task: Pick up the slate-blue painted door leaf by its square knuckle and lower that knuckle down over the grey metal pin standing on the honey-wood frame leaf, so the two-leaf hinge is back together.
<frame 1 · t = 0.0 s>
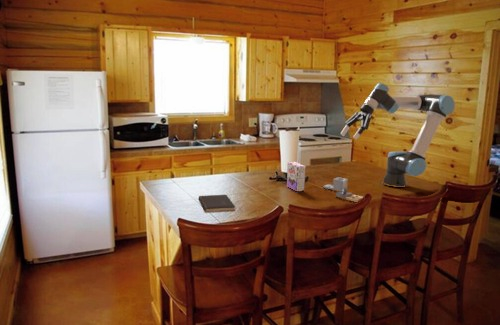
hand: (348, 136, 234), 36 cm above the kitchen island, tool tilted 35°, fingers open, 13 cm apart
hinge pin: (343, 197, 237), on the kitchen island
door leaf: (339, 191, 251), on the kitchen island
candy box: (295, 189, 253), on the kitchen island
hardcover book: (216, 205, 219), on the kitchen island
frame leaf: (354, 198, 232), on the kitchen island
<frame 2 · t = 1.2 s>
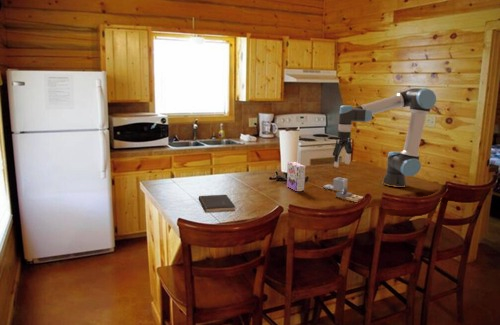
hand: (341, 165, 247), 17 cm above the kitchen island, tool pointing down, fingers open, 13 cm apart
nothing on the kitchen island moved.
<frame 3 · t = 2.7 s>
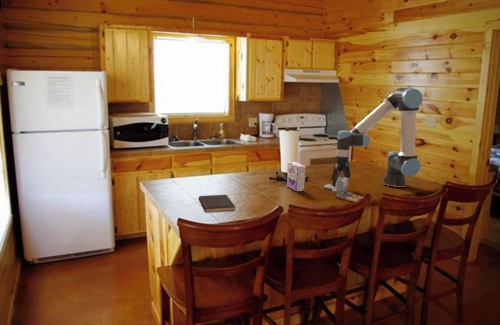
hand: (339, 189, 250), 1 cm above the kitchen island, tool pointing down, fingers open, 13 cm apart
nothing on the kitchen island moved.
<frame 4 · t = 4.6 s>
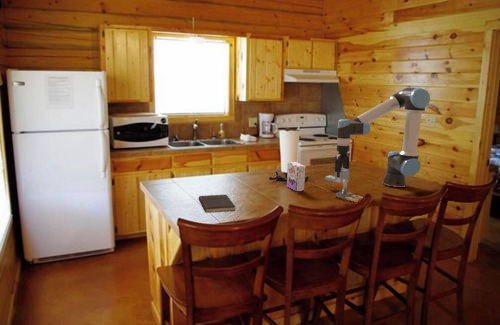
hand: (341, 181, 249), 7 cm above the kitchen island, tool pointing down, fingers closed on door leaf, 6 cm apart
door leaf: (341, 181, 249), point 6 cm above the kitchen island, touching gripper
everything else where it was.
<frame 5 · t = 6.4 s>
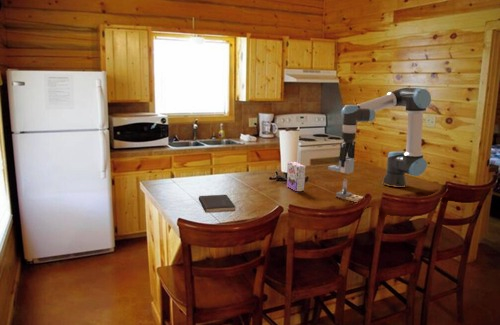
hand: (345, 171, 233), 16 cm above the kitchen island, tool pointing down, fingers closed on door leaf, 6 cm apart
door leaf: (345, 171, 234), point 16 cm above the kitchen island, touching gripper
everything else where it was.
when the fingers open (5 cm above the kitchen island, at t = 8.5 s): door leaf drops 2 cm, resting on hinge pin.
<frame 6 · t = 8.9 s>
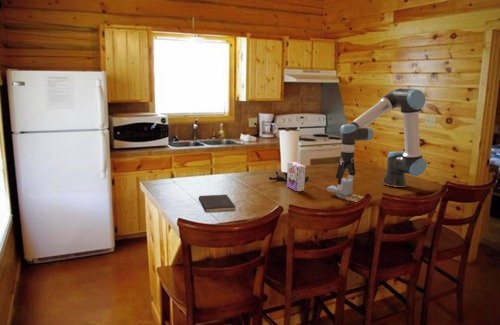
hand: (344, 187, 236), 6 cm above the kitchen island, tool pointing down, fingers open, 11 cm apart
door leaf: (344, 192, 236), point 3 cm above the kitchen island, touching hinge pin
everything else where it was.
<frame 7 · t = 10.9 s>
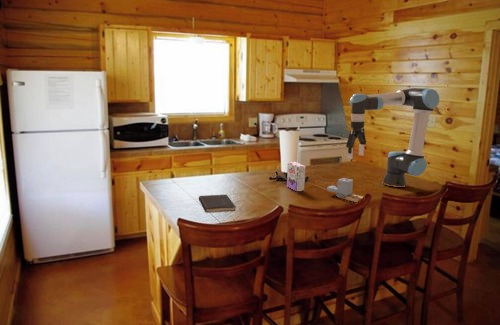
hand: (355, 157, 235), 24 cm above the kitchen island, tool pointing down, fingers open, 13 cm apart
nothing on the kitchen island moved.
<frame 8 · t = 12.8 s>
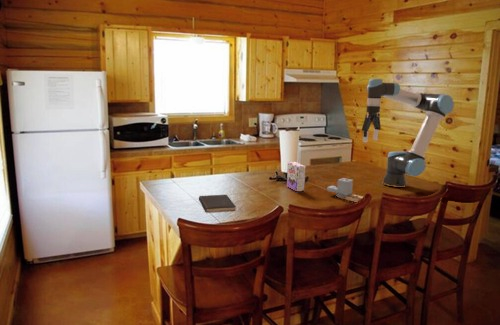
hand: (370, 141, 240), 33 cm above the kitchen island, tool pointing down, fingers open, 13 cm apart
nothing on the kitchen island moved.
at the end: door leaf 0.1 cm off-centre on the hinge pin, point 3.0 cm above the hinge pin's base; door leaf tilted 0°; the gripper is holding nothing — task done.
